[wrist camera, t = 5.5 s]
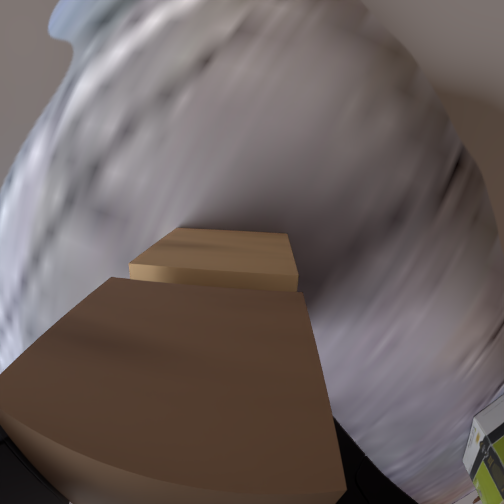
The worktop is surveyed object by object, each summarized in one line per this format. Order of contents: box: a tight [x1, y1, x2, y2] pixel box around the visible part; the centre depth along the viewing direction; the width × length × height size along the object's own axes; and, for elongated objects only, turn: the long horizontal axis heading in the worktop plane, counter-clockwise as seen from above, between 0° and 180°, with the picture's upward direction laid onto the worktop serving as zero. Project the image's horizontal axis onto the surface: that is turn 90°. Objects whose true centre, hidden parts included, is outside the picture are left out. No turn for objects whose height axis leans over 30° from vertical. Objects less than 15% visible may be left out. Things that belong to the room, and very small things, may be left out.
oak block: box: [129, 228, 299, 292], centre depth 13 cm, size 6×6×6 cm
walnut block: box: [0, 277, 347, 504], centre depth 6 cm, size 6×6×6 cm
